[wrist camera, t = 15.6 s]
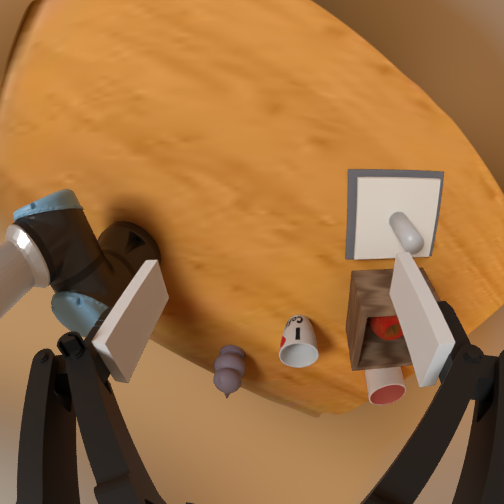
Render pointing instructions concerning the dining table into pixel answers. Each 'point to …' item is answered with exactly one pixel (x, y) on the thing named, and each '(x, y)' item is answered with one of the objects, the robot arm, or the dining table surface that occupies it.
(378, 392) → the cup
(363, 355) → the box
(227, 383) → the cat figurine
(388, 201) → the lid
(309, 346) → the cup
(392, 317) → the apple
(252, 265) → the dining table surface
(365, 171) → the mat
